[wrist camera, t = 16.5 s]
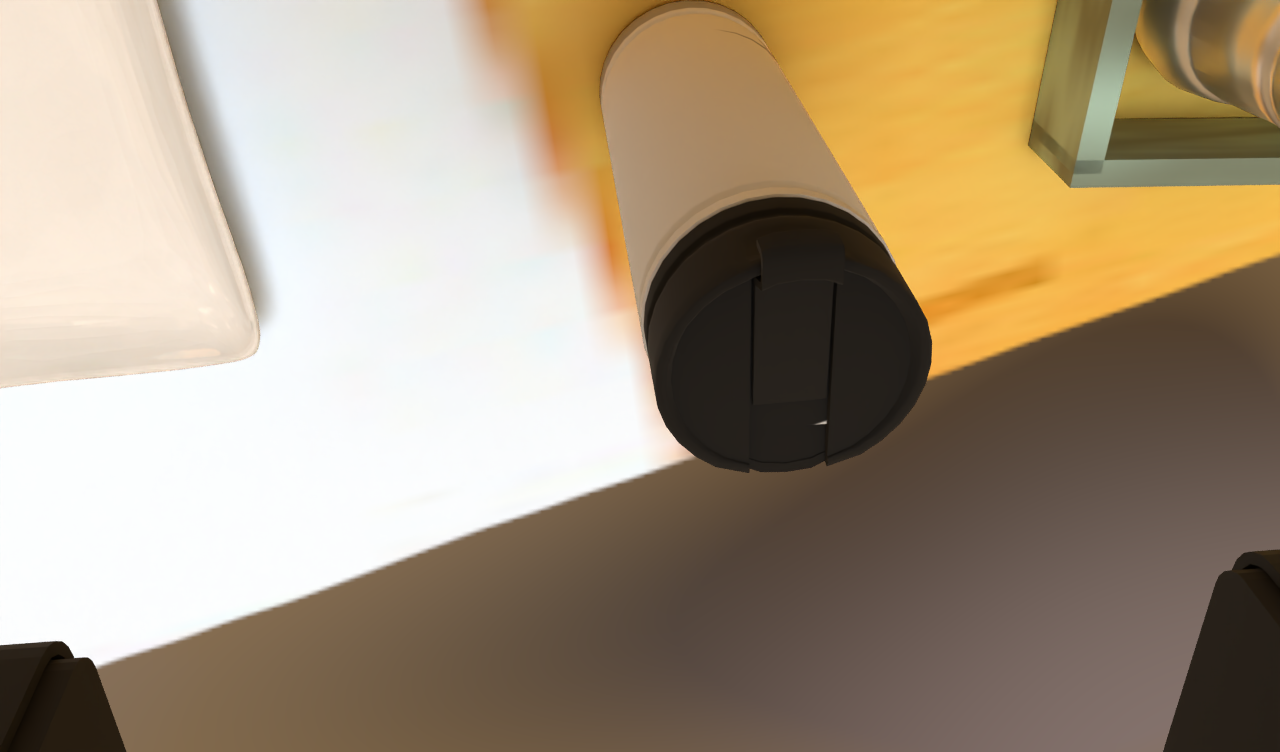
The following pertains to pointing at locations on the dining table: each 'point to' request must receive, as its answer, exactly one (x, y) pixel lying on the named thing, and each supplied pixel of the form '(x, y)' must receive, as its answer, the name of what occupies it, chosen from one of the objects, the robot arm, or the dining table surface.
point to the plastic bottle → (1217, 50)
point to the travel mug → (751, 253)
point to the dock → (1132, 148)
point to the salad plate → (107, 203)
